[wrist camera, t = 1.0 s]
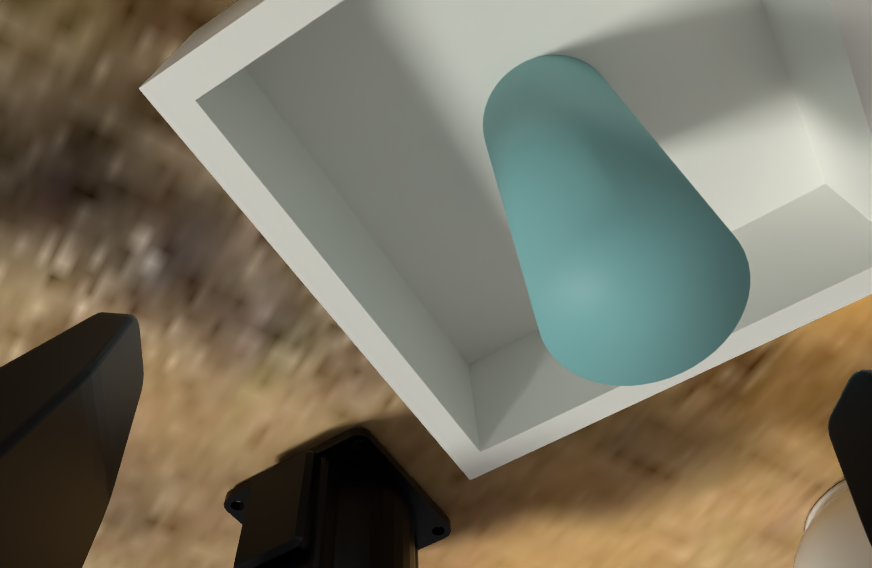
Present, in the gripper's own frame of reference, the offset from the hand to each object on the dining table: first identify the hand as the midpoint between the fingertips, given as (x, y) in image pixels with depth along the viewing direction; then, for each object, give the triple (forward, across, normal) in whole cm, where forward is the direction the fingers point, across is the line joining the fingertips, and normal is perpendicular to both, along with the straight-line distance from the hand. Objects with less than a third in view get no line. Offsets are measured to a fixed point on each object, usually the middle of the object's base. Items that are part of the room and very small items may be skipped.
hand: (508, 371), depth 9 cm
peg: (+12, -3, +1) cm, 12 cm away
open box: (+13, -3, +1) cm, 13 cm away
